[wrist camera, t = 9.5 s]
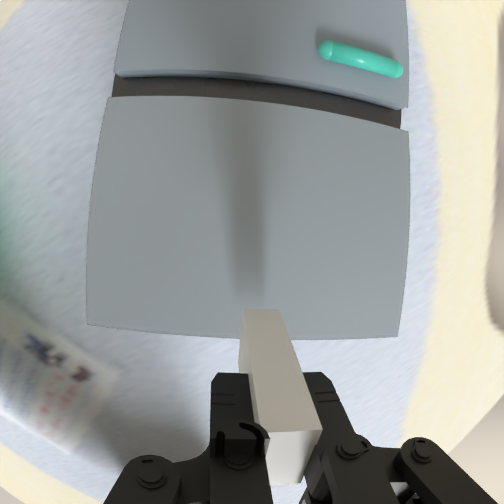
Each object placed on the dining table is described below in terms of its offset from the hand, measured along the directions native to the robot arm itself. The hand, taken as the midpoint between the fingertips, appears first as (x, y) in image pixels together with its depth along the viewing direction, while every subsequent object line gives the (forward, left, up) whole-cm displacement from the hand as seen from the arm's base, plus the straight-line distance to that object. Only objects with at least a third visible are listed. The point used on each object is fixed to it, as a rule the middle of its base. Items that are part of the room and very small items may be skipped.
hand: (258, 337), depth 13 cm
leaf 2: (+4, 0, -5) cm, 6 cm away
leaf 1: (+18, 0, -6) cm, 19 cm away
